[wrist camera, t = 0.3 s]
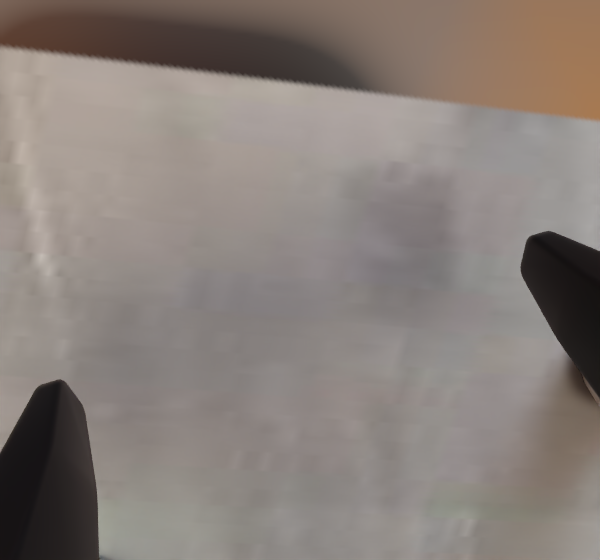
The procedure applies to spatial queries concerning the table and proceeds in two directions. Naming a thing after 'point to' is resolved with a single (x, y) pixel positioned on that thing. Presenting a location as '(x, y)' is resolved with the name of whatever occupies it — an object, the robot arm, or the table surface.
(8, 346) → the table surface
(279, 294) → the table surface
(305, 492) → the table surface
